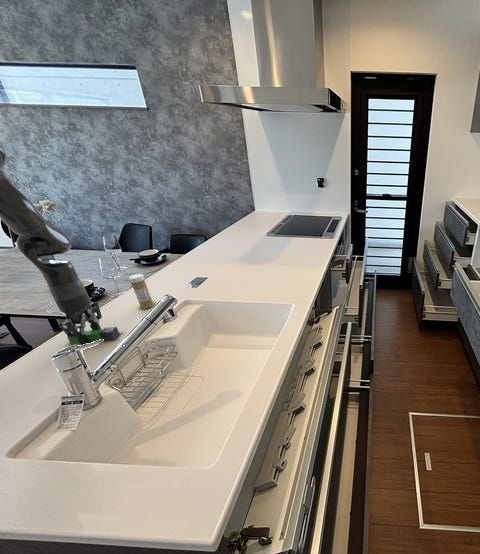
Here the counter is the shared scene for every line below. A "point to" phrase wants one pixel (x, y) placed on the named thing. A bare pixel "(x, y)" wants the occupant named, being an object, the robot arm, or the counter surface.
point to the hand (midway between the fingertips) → (92, 338)
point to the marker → (98, 335)
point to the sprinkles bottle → (141, 291)
